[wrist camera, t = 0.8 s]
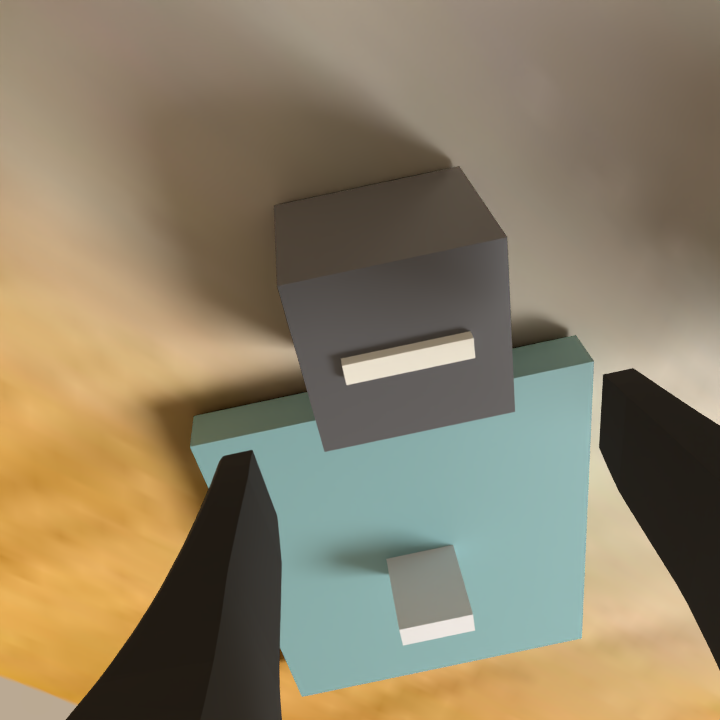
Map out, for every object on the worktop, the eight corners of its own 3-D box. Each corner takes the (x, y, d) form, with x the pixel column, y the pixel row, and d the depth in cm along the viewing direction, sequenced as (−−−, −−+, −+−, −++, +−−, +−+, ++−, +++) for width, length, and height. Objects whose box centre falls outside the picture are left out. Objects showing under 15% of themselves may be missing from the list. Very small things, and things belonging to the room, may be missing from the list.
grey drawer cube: (458, 166, 19) (510, 243, 15) (472, 321, 22) (518, 419, 18) (274, 205, 19) (277, 293, 15) (313, 355, 22) (325, 460, 18)
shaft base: (576, 335, 22) (636, 423, 19) (569, 609, 32) (609, 703, 28) (193, 416, 22) (180, 520, 19) (300, 665, 32) (305, 766, 28)
